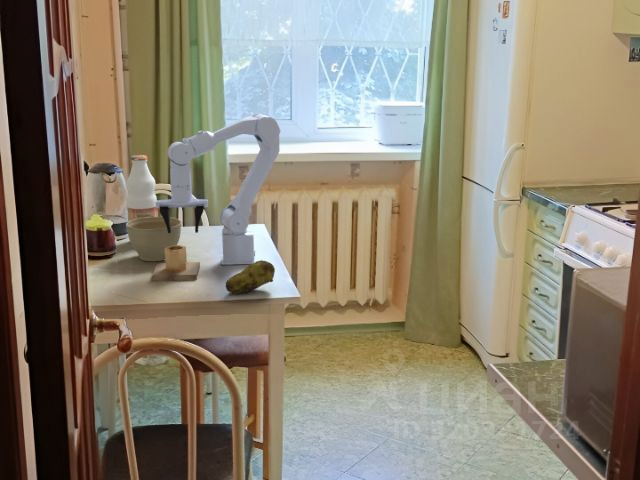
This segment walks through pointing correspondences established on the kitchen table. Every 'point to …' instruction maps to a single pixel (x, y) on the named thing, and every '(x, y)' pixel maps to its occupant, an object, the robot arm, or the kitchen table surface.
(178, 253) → the octagonal wooden tube
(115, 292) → the kitchen table surface
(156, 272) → the pin block
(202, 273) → the kitchen table surface
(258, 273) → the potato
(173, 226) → the planter bowl
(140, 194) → the white milk bottle
